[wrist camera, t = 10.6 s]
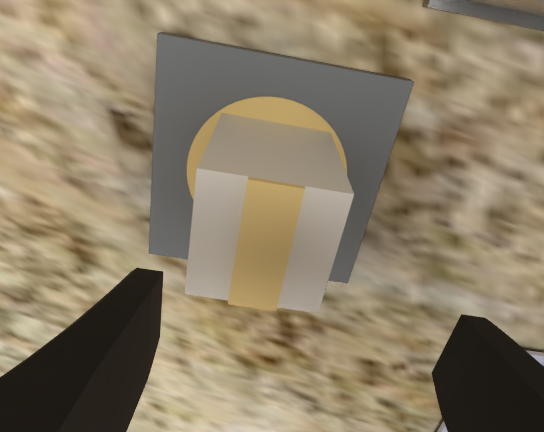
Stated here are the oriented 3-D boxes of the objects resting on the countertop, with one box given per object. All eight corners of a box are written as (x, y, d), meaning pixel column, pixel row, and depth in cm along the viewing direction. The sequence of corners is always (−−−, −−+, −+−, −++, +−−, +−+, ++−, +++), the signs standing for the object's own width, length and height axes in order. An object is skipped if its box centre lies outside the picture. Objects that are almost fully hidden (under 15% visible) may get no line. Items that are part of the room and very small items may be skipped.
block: (307, 225, 19) (318, 317, 14) (210, 209, 19) (183, 297, 13) (330, 132, 17) (355, 197, 12) (222, 112, 17) (195, 170, 11)
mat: (345, 276, 21) (348, 284, 21) (152, 246, 21) (148, 254, 20) (409, 79, 17) (414, 82, 16) (161, 32, 16) (156, 33, 15)
